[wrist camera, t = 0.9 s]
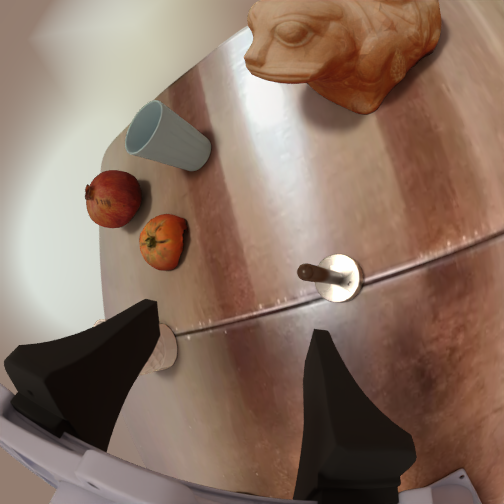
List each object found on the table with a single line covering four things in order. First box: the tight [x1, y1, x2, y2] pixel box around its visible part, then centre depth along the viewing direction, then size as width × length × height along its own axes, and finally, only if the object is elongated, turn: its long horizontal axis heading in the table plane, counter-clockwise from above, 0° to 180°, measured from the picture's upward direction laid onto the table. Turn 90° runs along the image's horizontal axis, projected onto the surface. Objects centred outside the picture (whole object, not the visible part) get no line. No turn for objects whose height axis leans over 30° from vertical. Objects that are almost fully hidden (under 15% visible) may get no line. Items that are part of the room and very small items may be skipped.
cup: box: [125, 100, 211, 171], centre depth 37 cm, size 8×8×10 cm
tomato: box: [139, 214, 188, 270], centre depth 41 cm, size 8×7×7 cm
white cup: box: [93, 319, 177, 376], centre depth 36 cm, size 8×8×10 cm
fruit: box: [85, 170, 142, 228], centre depth 45 cm, size 11×10×10 cm
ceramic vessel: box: [244, 0, 442, 115], centre depth 22 cm, size 14×26×15 cm, turn 130°
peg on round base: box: [297, 254, 363, 302], centre depth 24 cm, size 4×4×9 cm
